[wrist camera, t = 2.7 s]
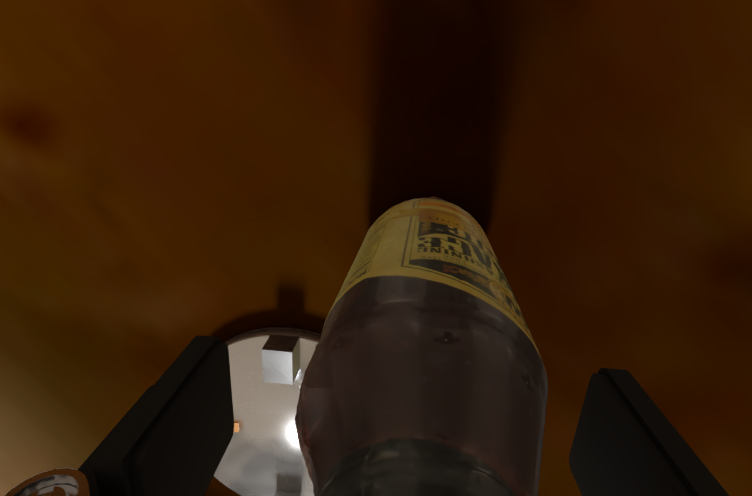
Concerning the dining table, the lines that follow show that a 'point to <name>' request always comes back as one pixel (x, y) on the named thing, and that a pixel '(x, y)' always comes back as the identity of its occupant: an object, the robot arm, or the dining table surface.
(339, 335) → the sauce bottle
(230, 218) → the dining table surface
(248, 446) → the base
